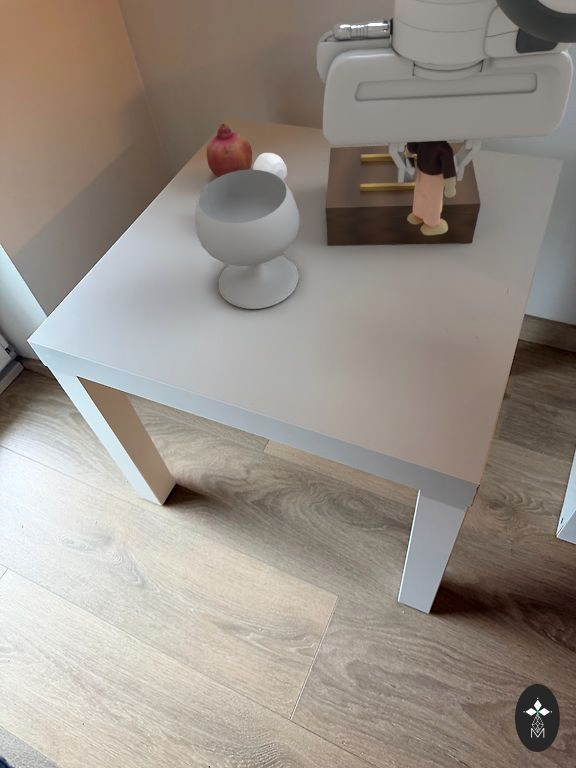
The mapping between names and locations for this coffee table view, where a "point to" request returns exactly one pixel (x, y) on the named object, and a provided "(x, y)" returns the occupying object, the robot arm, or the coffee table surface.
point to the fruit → (228, 152)
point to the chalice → (250, 236)
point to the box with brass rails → (390, 201)
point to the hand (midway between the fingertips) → (429, 178)
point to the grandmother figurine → (432, 183)
